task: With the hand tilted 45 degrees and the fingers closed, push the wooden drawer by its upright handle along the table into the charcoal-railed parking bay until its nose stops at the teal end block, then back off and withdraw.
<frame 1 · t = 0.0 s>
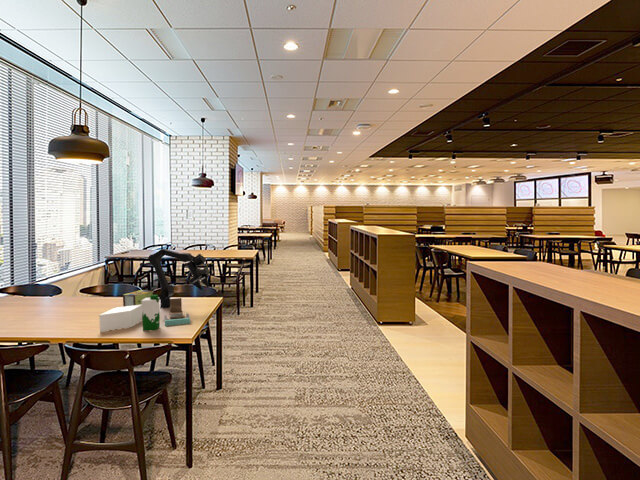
hand: (205, 288, 275), 15 cm above the table, fingers open, 9 cm apart
bay: (176, 320, 249), on the table
protein box: (138, 316, 259), on the table
milk carton: (151, 329, 231), on the table
wooden drawer: (176, 317, 256), on the table
white block: (123, 326, 237), on the table
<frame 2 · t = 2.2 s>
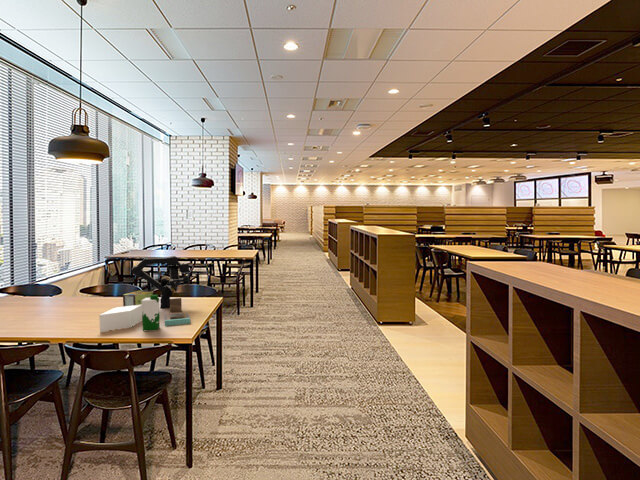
hand: (175, 291, 272), 14 cm above the table, fingers closed
nothing on the table moved.
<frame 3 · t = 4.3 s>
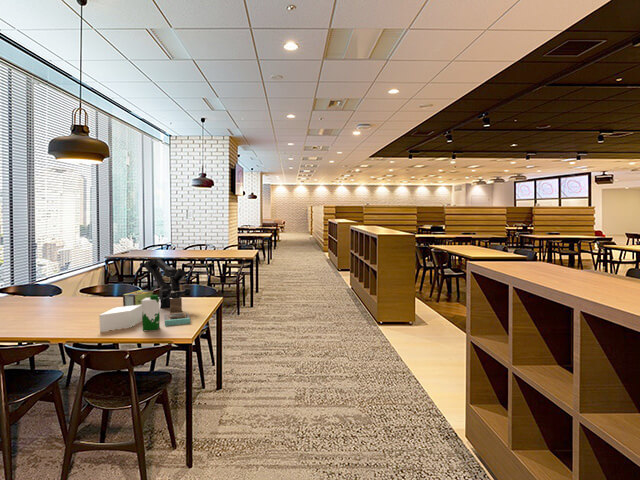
hand: (176, 303, 262), 7 cm above the table, fingers closed, pressing on wooden drawer
wooden drawer: (176, 317, 256), on the table, touching gripper
everything else where it was.
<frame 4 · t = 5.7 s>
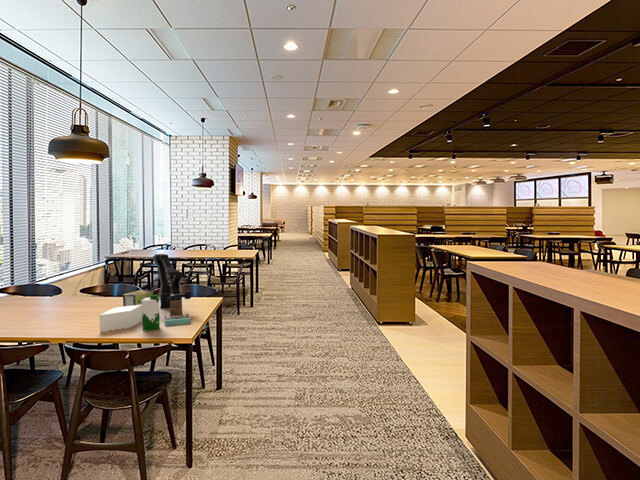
hand: (176, 307, 255), 7 cm above the table, fingers closed
wooden drawer: (176, 320, 249), on the table, touching gripper
everything else where it was.
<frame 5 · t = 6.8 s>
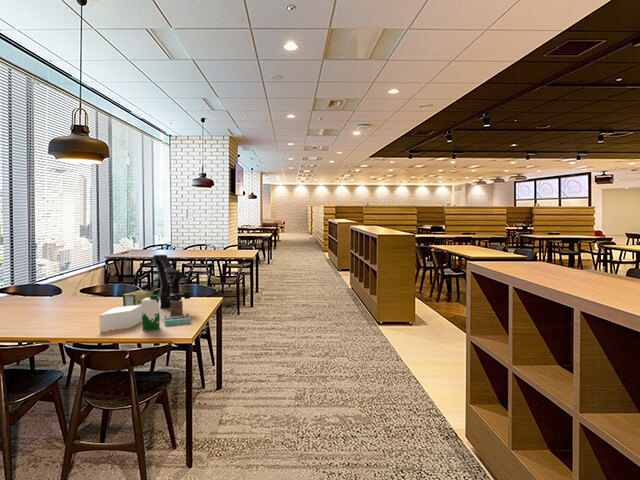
hand: (176, 306, 257), 6 cm above the table, fingers closed
wooden drawer: (176, 320, 249), on the table
everything else where it was.
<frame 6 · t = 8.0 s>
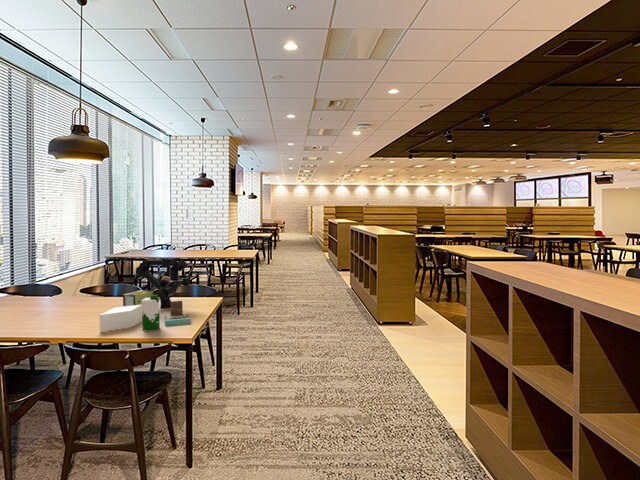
hand: (175, 292, 267), 13 cm above the table, fingers closed
nothing on the table moved.
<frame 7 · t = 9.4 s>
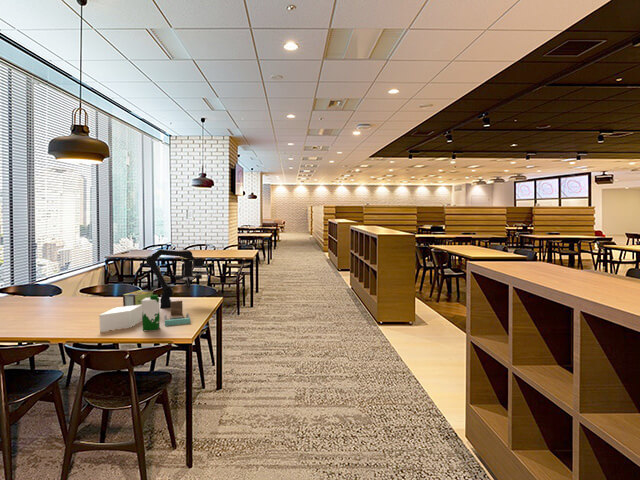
hand: (188, 288, 288), 12 cm above the table, fingers closed
nothing on the table moved.
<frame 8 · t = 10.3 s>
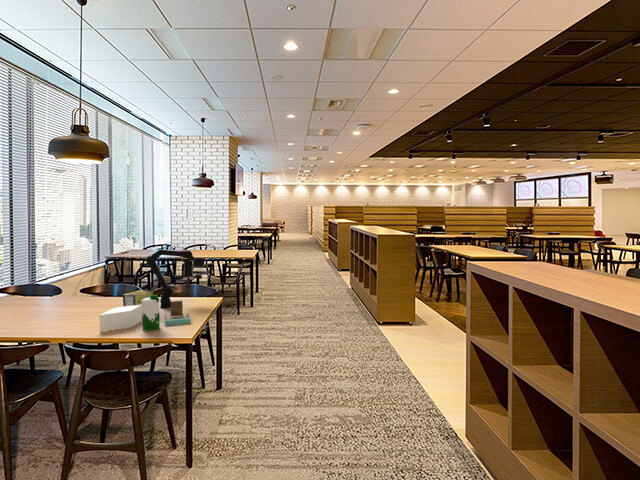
hand: (188, 288, 288), 12 cm above the table, fingers closed
nothing on the table moved.
at the end: wooden drawer 0.4 cm off-centre on the bay, point 0.0 cm above the bay's base; wooden drawer tilted 0° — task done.
